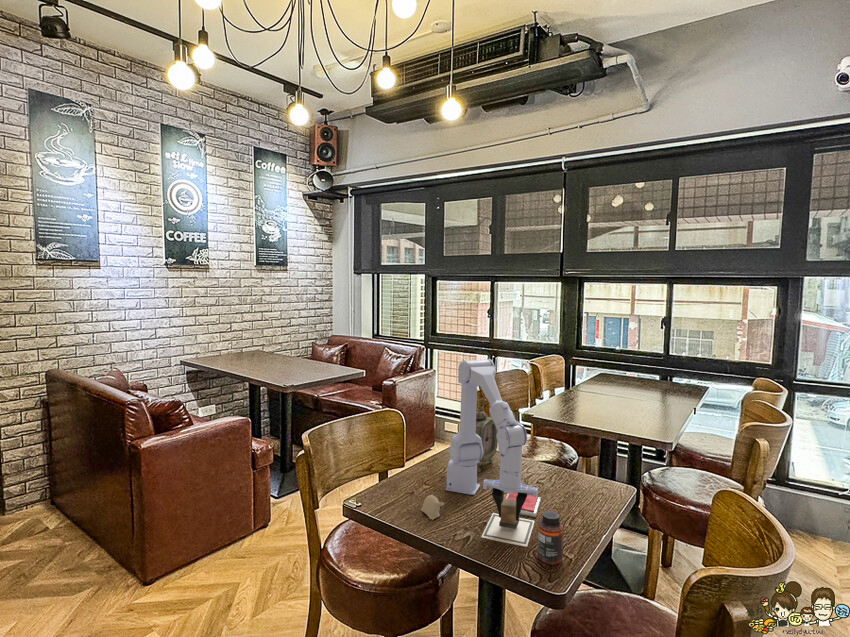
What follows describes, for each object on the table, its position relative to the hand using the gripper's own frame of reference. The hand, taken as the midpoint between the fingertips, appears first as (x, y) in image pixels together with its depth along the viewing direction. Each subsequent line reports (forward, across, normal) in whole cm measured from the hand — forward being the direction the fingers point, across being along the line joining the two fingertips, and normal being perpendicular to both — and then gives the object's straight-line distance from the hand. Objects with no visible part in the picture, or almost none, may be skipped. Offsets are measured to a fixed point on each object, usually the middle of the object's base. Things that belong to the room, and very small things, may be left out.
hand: (509, 517), depth 131 cm
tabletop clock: (+4, -19, +40) cm, 44 cm away
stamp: (+2, 0, 0) cm, 2 cm away
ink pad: (+3, +1, +15) cm, 15 cm away
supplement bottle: (+4, +12, -10) cm, 16 cm away
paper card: (+3, 0, 0) cm, 3 cm away
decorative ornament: (+4, -22, 0) cm, 23 cm away
